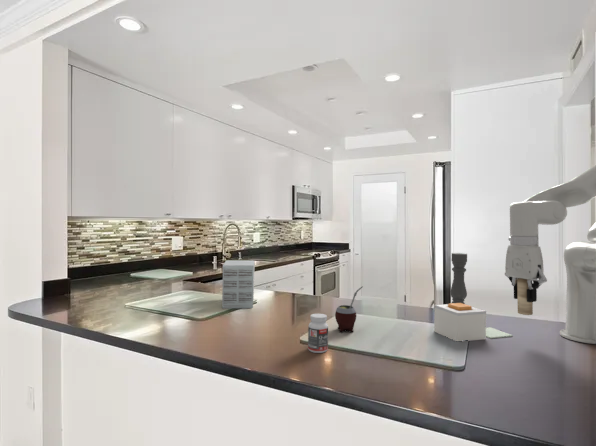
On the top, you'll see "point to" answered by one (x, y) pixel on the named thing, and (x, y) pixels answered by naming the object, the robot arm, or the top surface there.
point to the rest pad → (496, 333)
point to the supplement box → (238, 284)
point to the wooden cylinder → (523, 298)
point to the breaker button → (459, 306)
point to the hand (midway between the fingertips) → (525, 299)
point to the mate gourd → (346, 316)
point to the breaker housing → (460, 323)
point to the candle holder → (458, 278)
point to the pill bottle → (318, 333)
